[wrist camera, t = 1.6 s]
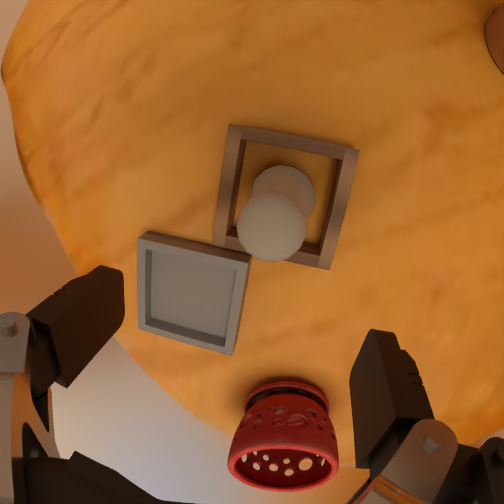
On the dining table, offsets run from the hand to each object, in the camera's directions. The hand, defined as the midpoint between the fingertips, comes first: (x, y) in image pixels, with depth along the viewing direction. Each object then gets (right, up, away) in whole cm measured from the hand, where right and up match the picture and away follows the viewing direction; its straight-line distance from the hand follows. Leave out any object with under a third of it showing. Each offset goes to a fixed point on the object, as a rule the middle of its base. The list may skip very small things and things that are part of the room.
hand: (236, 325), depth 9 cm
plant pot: (+6, -19, +31) cm, 37 cm away
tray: (-6, -2, +26) cm, 27 cm away
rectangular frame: (+4, +8, +21) cm, 22 cm away
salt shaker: (+4, +8, +21) cm, 23 cm away
